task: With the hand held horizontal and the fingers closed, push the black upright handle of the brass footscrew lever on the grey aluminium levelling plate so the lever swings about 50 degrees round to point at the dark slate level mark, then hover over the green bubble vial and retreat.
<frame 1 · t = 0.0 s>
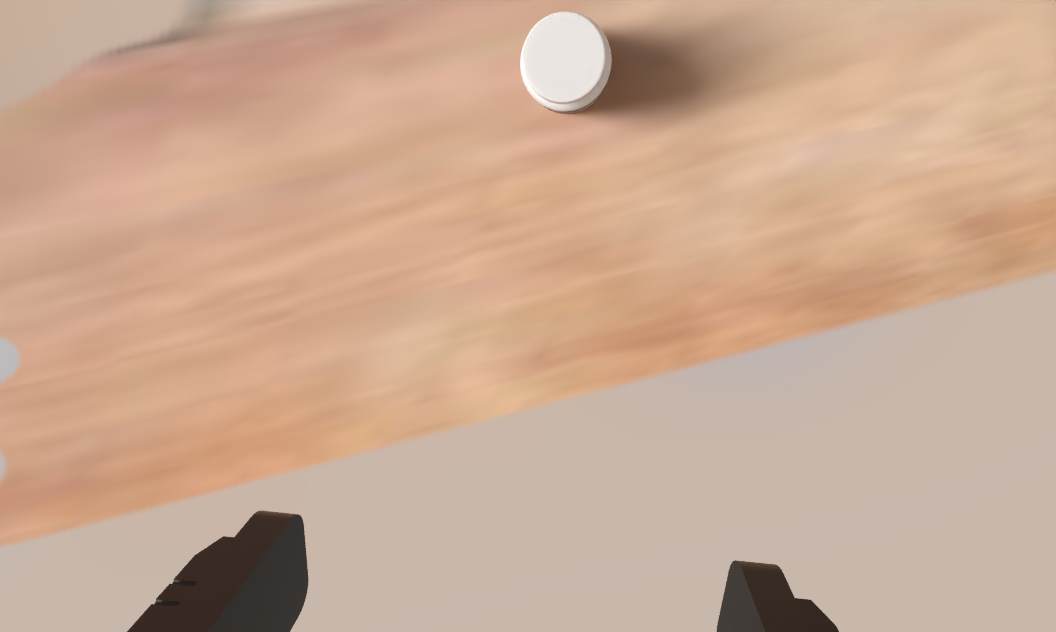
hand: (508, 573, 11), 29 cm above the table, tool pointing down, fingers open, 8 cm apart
pill bottle: (567, 73, 35), on the table
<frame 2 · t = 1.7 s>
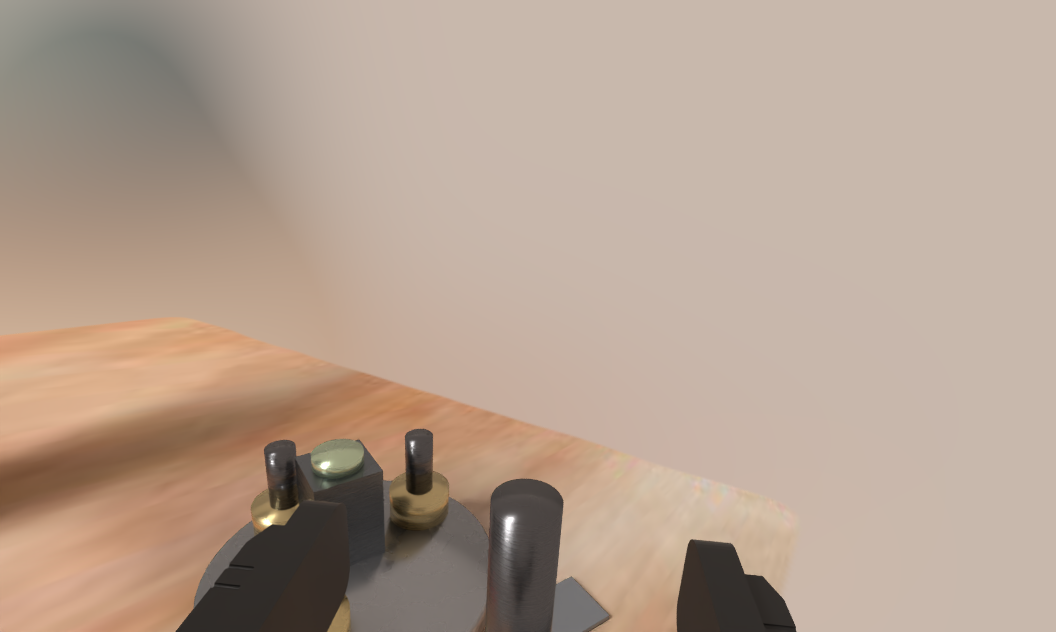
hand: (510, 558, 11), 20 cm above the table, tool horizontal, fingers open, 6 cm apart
footscrew lever: (384, 584, 24), point 9 cm above the table, hinge at 0.0°
tribrach plate: (355, 590, 35), on the table
level mark: (566, 611, 35), on the table
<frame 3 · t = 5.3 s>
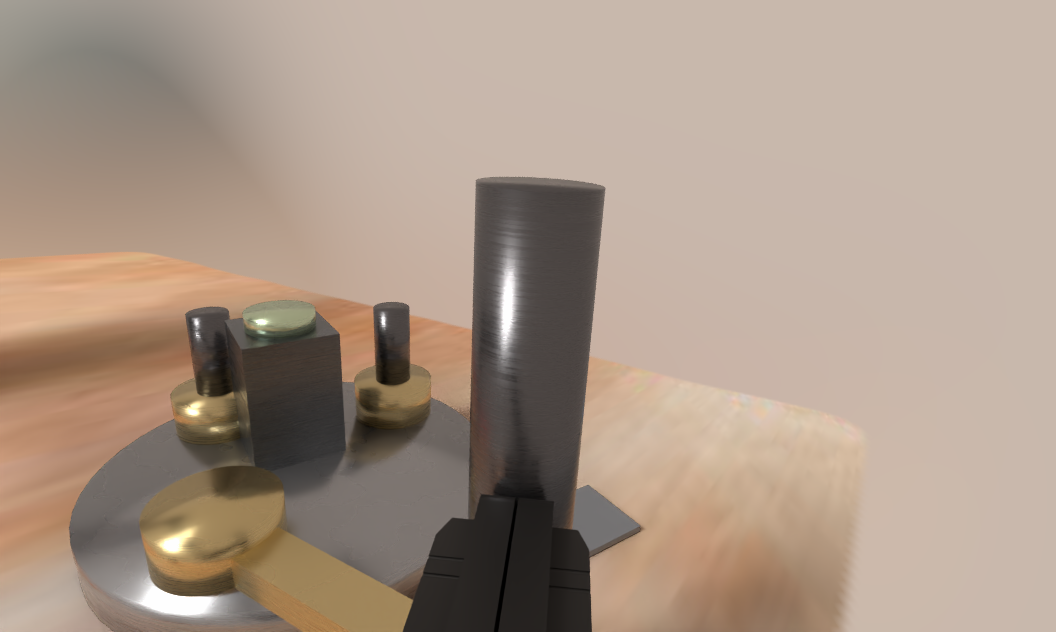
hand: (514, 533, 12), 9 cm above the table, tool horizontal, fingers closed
footscrew lever: (317, 418, 16), point 9 cm above the table, hinge at 0.5°, touching gripper
tribrach plate: (306, 498, 27), on the table
level mark: (584, 522, 26), on the table
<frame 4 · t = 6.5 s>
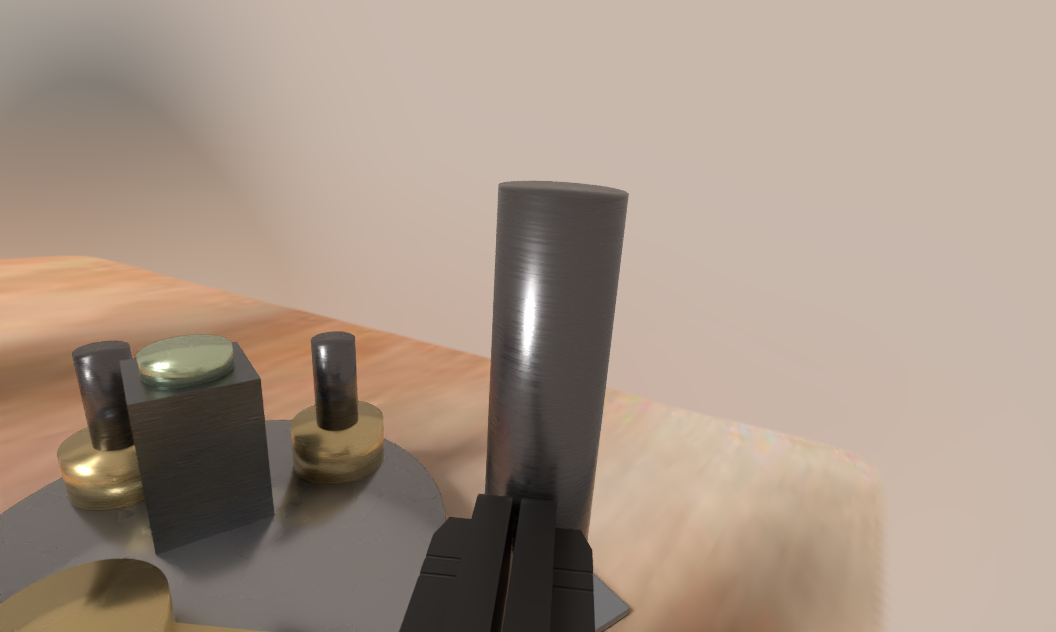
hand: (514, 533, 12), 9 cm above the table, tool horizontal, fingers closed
footscrew lever: (256, 477, 13), point 9 cm above the table, hinge at 24.6°, touching gripper
tribrach plate: (224, 575, 22), on the table
level mark: (562, 603, 22), on the table
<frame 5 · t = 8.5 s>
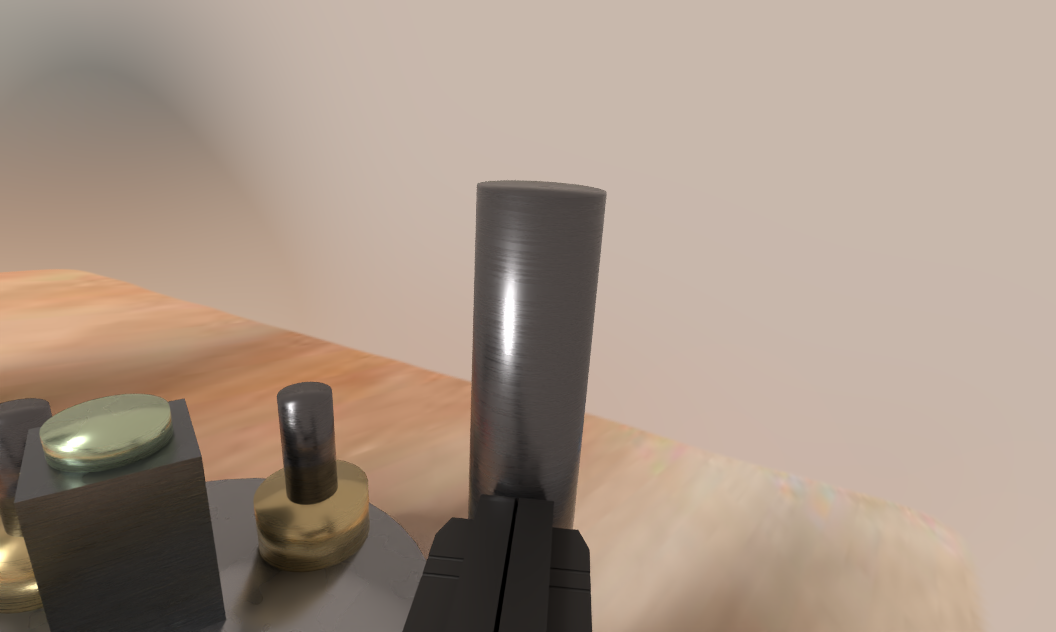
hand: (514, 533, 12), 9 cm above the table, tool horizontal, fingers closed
footscrew lever: (194, 562, 11), point 9 cm above the table, hinge at 49.2°, touching gripper
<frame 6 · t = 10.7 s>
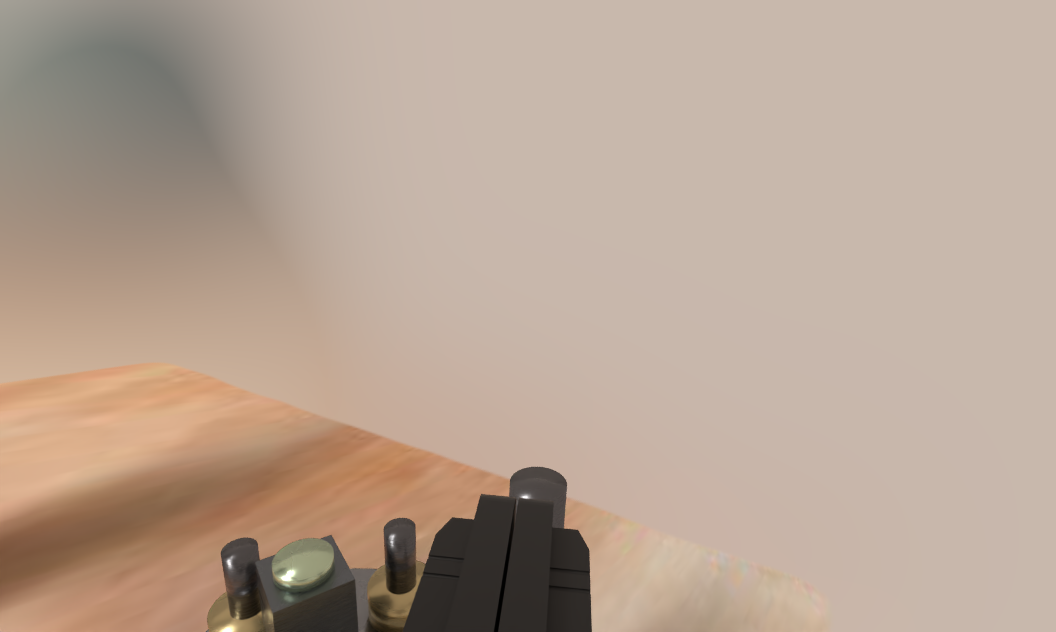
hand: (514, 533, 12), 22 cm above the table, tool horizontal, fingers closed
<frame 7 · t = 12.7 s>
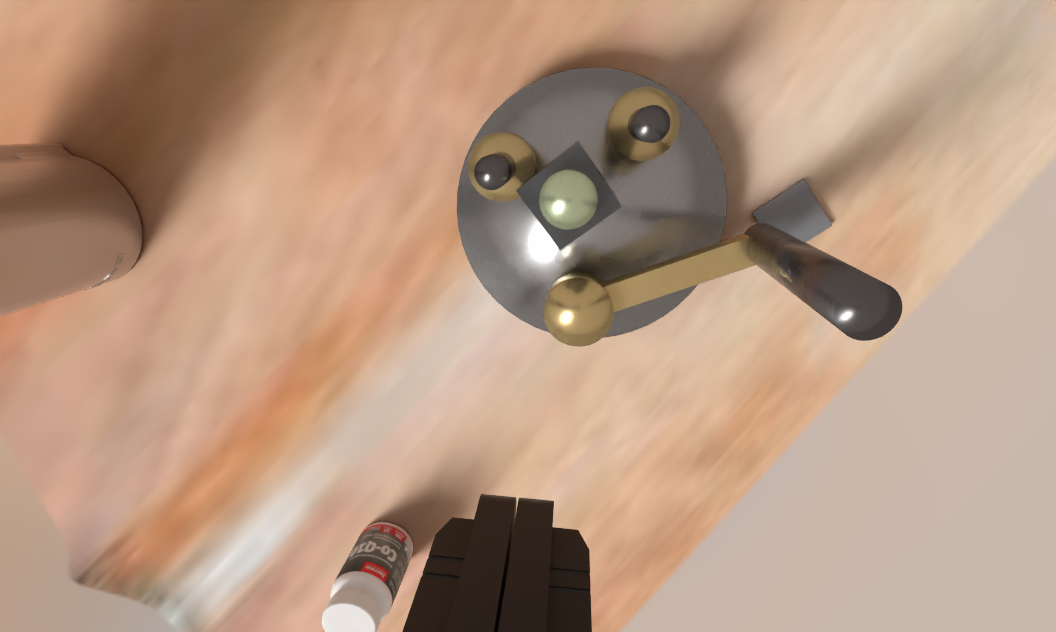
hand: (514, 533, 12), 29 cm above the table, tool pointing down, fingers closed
footscrew lever: (676, 310, 30), point 9 cm above the table, hinge at 49.2°
pill bottle: (387, 541, 48), on the table
tribrach plate: (588, 208, 38), on the table
level mark: (791, 218, 37), on the table
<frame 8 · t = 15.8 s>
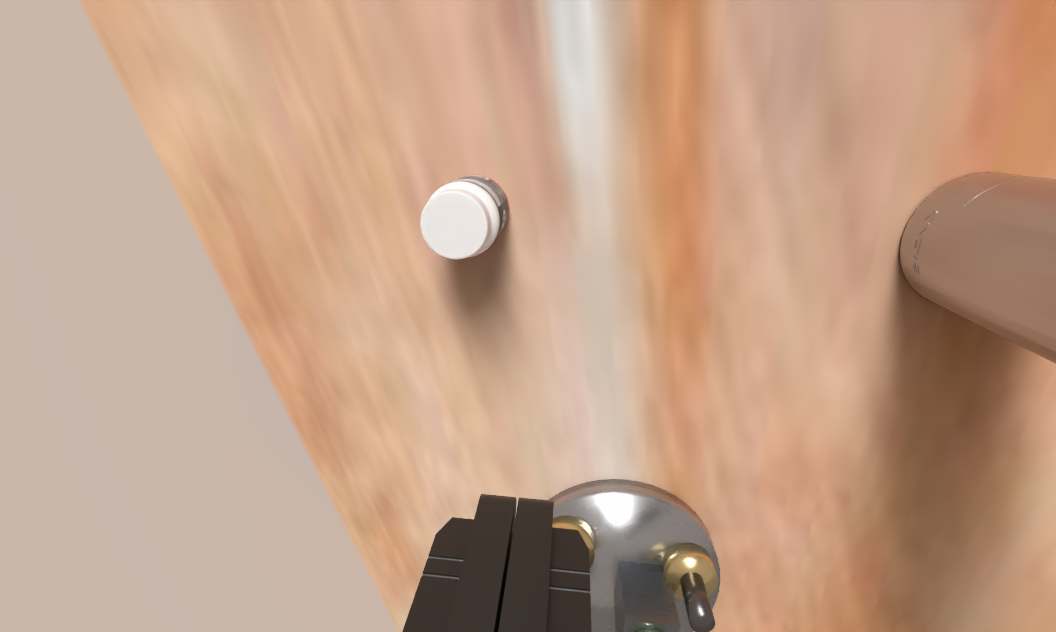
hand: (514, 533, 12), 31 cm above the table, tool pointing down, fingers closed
pill bottle: (477, 207, 41), on the table
tribrach plate: (615, 562, 50), on the table
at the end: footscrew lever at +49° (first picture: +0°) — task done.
